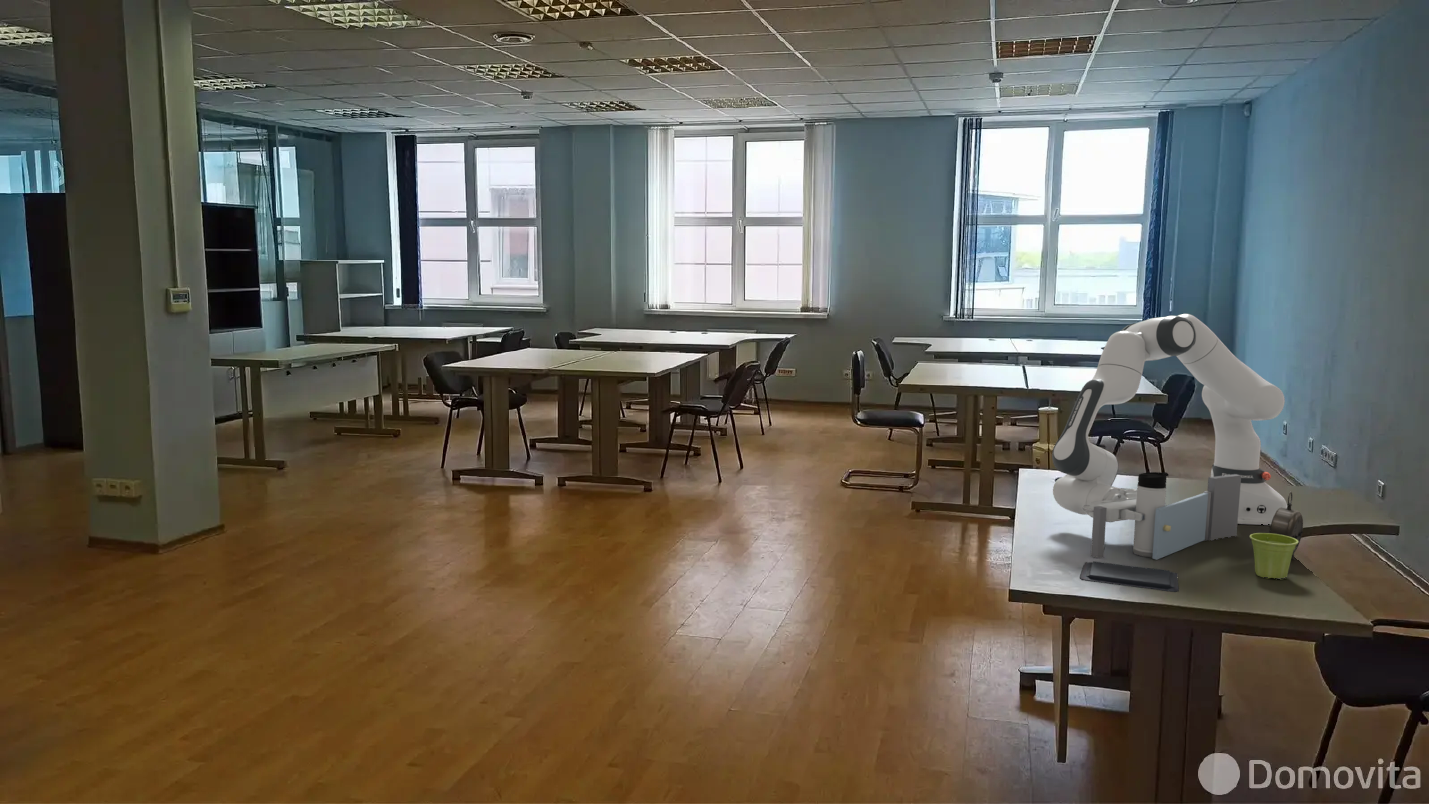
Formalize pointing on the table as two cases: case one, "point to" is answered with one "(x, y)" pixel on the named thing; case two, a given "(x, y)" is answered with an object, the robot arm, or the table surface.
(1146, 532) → the travel mug
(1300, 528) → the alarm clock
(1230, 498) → the pair of grey slabs
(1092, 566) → the dark grey book
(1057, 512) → the table surface
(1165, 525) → the door
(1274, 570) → the plant pot
